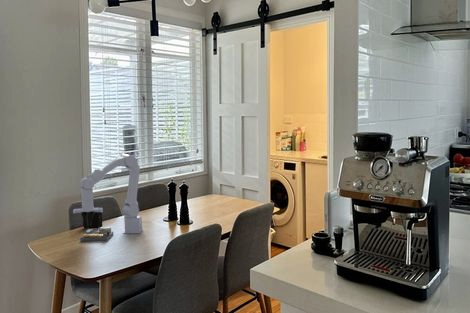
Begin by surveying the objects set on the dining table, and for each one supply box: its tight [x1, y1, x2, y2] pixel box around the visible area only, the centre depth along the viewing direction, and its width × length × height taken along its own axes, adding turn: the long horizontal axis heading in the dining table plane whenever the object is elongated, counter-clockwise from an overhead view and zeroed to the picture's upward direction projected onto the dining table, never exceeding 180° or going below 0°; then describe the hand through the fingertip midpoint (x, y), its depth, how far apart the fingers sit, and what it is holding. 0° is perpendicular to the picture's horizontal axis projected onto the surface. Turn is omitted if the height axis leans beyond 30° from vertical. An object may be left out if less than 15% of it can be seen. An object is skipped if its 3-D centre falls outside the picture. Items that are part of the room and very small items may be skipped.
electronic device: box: [82, 212, 103, 230], centre depth 239 cm, size 4×10×10 cm, turn 78°
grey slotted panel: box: [80, 226, 114, 243], centre depth 218 cm, size 14×11×4 cm
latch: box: [85, 228, 94, 234], centre depth 219 cm, size 2×4×2 cm, turn 0°
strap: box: [82, 233, 108, 237], centre depth 215 cm, size 12×2×1 cm, turn 90°
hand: (88, 225), depth 215 cm, fingers closed
